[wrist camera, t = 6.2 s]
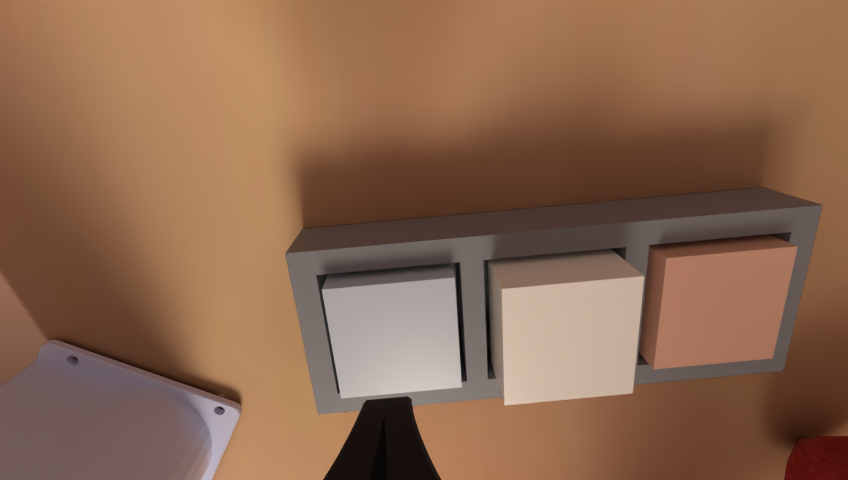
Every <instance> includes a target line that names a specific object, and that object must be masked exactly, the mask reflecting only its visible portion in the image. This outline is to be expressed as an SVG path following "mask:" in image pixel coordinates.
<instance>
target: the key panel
mask: <svg viewBox="0 0 848 480" xmlns="http://www.w3.org/2000/svg"><path fill="white" fill-rule="evenodd" d="M821 209H822V205H820V204H817V203H814V202H810V201H807V200H804V199H800V198H797V197H793V196H790V195H787V194H783V193H780V192H777V191H773V190H770V189H766V188H763V187H762V188H751V189H739V190H728V191H717V192H706V193H695V194H684V195H672V196H661V197H650V198H639V199H628V200H617V201H605V202H594V203H583V204H572V205H561V206H550V207H539V208H527V209H516V210H505V211H494V212H483V213H472V214H460V215H449V216H438V217H427V218H416V219H405V220H393V221H382V222H371V223H360V224H349V225H338V226H326V227H315V228H304V229H302V230H301V232H300V233H299V235H298V236H297V238H296V239H295V240H294V242H293V243H292V245H291V246H290V248H289V249H288V250H287V252H286V253H285V254H286V259H287V264H288V269H289V274H290V279H291V284H292V289H293V294H294V299H295V304H296V308H297V313H298V318H299V323H300V328H301V333H302V338H303V343H304V348H305V353H306V358H307V363H308V367H309V372H310V377H311V382H312V387H313V392H314V397H315V402H316V407H317V412H318V414H328V413H339V412H350V411H360V410H361V408H362V406H363V403H364V402H365V401H366V400H373V399H383V398H394V397H404V396H408V397H409V398H411V399H412V406H414V405H424V404H435V403H446V402H456V401H467V400H478V399H488V398H499V397H502V396H501V392H500V389H499V386H498V383H497V379H496V376H495V373H494V370H493V366H492V363H491V342H490V313H489V284H488V260H489V259H500V258H511V257H522V256H533V255H544V254H555V253H566V252H577V251H588V250H599V249H612V250H613V251H614V252H615V253H617V254H618V255H619V256H620V257H622V258H623V259H624V260H625V261H626V262H628V263H629V264H630V265H631V266H633V267H634V268H635V269H636V270H637V271H639V272H640V273H641V274H642V275H644V285H643V295H642V305H641V315H640V325H639V335H638V345H637V356H636V366H635V376H634V385H638V384H648V383H659V382H670V381H681V380H691V379H702V378H713V377H723V376H734V375H745V374H755V373H766V372H777V371H784V366H785V362H786V358H787V354H788V349H789V345H790V341H791V337H792V332H793V328H794V324H795V320H796V315H797V311H798V307H799V303H800V298H801V294H802V290H803V286H804V282H805V277H806V273H807V269H808V265H809V260H810V256H811V252H812V248H813V243H814V239H815V235H816V231H817V226H818V222H819V218H820V214H821ZM764 234H770V235H772V236H774V237H777V238H779V239H781V240H784V241H786V242H789V243H791V244H793V245H796V246H798V248H797V252H796V257H795V261H794V266H793V270H792V275H791V279H790V283H789V288H788V292H787V297H786V301H785V306H784V310H783V315H782V319H781V324H780V328H779V333H778V337H777V342H776V346H775V351H774V355H773V358H771V359H760V360H750V361H739V362H728V363H718V364H707V365H696V366H685V367H675V368H664V369H653V368H652V367H651V366H650V365H649V363H648V362H647V361H646V360H645V359H644V358H643V357H642V355H641V354H640V353H639V343H640V333H641V323H642V313H643V303H644V293H645V283H646V273H647V263H648V253H649V245H654V244H665V243H676V242H687V241H698V240H709V239H720V238H731V237H742V236H753V235H764ZM445 263H451V264H452V268H453V272H454V276H455V287H456V303H457V319H458V335H459V351H460V366H461V382H462V387H460V388H449V389H438V390H428V391H417V392H406V393H396V394H385V395H374V396H363V397H353V398H342V399H341V395H340V389H339V384H338V378H337V372H336V367H335V361H334V356H333V350H332V344H331V339H330V333H329V328H328V322H327V316H326V311H325V305H324V300H323V294H322V288H323V285H324V283H325V280H326V278H327V275H328V274H334V273H345V272H356V271H367V270H378V269H389V268H400V267H411V266H423V265H434V264H445Z"/></svg>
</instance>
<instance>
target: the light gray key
mask: <svg viewBox="0 0 848 480" xmlns="http://www.w3.org/2000/svg"><path fill="white" fill-rule="evenodd" d="M322 294H323V300H324V305H325V311H326V316H327V322H328V328H329V333H330V339H331V344H332V350H333V356H334V361H335V367H336V372H337V378H338V384H339V389H340V395H341V399H342V398H353V397H363V396H374V395H385V394H396V393H406V392H417V391H428V390H438V389H449V388H460V387H462V382H461V366H460V351H459V335H458V319H457V303H456V287H455V276H454V272H453V268H452V264H451V263H445V264H434V265H423V266H411V267H400V268H389V269H378V270H367V271H356V272H345V273H334V274H328V275H327V278H326V280H325V283H324V285H323V288H322Z"/></svg>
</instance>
